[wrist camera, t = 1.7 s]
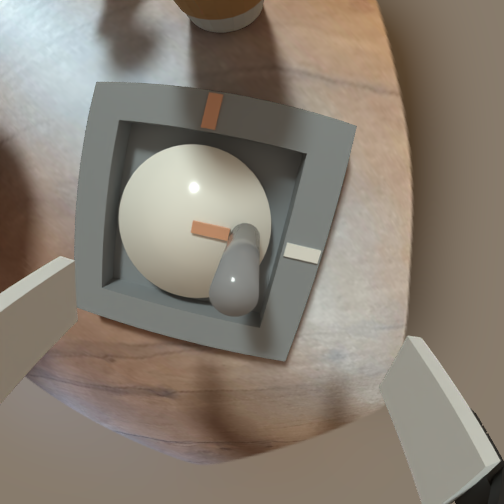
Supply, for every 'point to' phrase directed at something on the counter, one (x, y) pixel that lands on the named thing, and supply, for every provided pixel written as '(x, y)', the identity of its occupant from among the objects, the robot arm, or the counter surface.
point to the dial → (198, 225)
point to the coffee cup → (221, 13)
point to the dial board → (248, 151)
